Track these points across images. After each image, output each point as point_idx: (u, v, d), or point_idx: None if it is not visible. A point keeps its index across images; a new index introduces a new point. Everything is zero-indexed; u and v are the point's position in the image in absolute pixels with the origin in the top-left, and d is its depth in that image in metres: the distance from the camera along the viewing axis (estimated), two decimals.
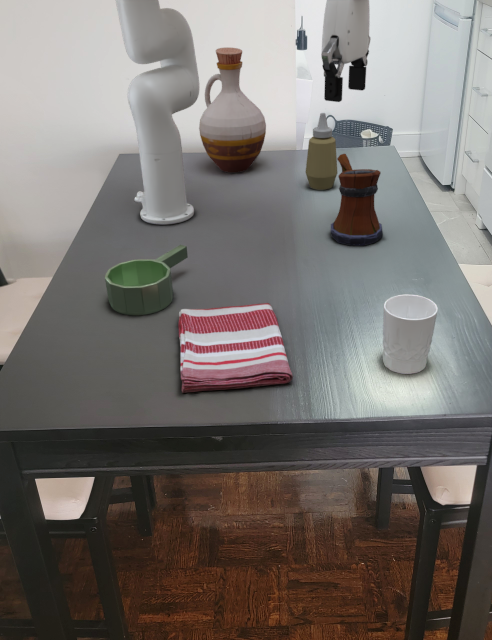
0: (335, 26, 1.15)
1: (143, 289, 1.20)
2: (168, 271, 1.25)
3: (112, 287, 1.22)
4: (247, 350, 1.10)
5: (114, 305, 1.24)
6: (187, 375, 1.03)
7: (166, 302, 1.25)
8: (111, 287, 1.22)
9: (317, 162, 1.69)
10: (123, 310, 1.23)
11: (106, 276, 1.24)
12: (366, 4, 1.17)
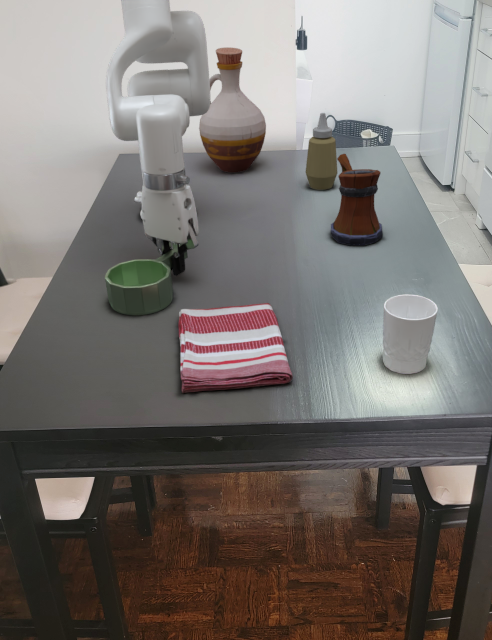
0: None
1: (143, 289, 1.20)
2: (168, 271, 1.25)
3: (112, 287, 1.22)
4: (247, 350, 1.10)
5: (114, 305, 1.24)
6: (187, 375, 1.03)
7: (166, 302, 1.25)
8: (111, 287, 1.22)
9: (317, 162, 1.69)
10: (123, 310, 1.23)
11: (106, 276, 1.24)
12: (166, 199, 1.23)
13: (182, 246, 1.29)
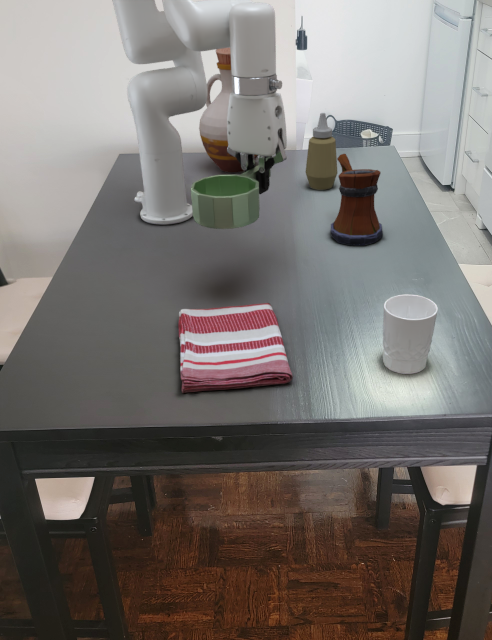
0: None
1: (233, 199, 1.14)
2: (257, 184, 1.18)
3: (200, 198, 1.15)
4: (247, 350, 1.10)
5: (200, 219, 1.17)
6: (187, 375, 1.03)
7: (254, 216, 1.18)
8: (199, 198, 1.15)
9: (317, 162, 1.69)
10: (210, 223, 1.17)
11: (192, 188, 1.17)
12: (256, 105, 1.16)
13: (269, 160, 1.22)
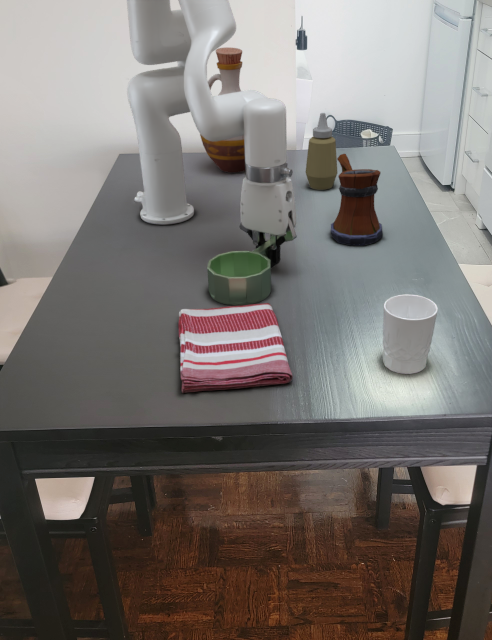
0: None
1: (248, 279, 1.22)
2: (269, 262, 1.27)
3: (216, 278, 1.24)
4: (247, 350, 1.10)
5: (216, 295, 1.26)
6: (187, 375, 1.03)
7: (266, 293, 1.27)
8: (215, 278, 1.24)
9: (317, 162, 1.69)
10: (226, 300, 1.25)
11: (208, 267, 1.26)
12: (268, 191, 1.25)
13: (280, 238, 1.31)
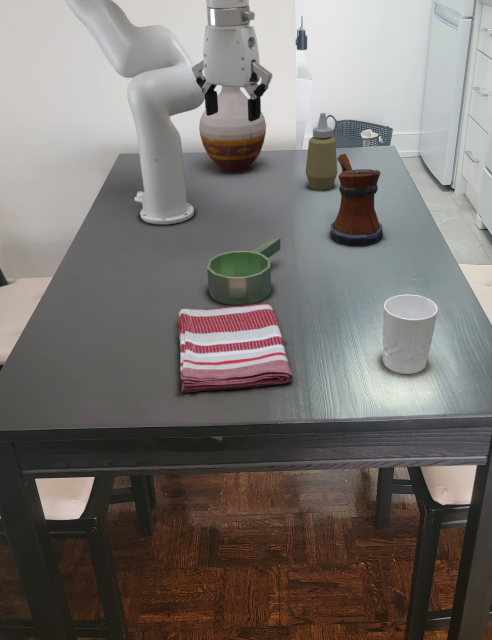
0: None
1: (248, 279, 1.22)
2: (269, 262, 1.27)
3: (216, 277, 1.24)
4: (247, 350, 1.10)
5: (216, 295, 1.26)
6: (187, 375, 1.03)
7: (266, 292, 1.27)
8: (215, 277, 1.24)
9: (317, 162, 1.69)
10: (226, 300, 1.25)
11: (208, 267, 1.26)
12: (230, 36, 1.22)
13: (260, 86, 1.26)
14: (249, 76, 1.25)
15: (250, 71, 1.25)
